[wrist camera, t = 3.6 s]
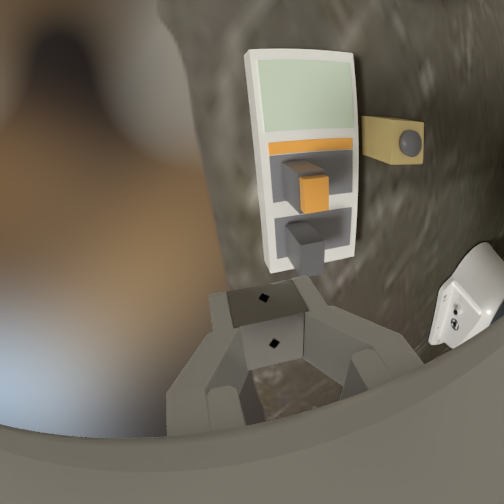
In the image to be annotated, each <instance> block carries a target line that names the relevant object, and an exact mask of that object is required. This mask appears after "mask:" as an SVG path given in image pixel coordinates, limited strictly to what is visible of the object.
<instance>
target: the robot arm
mask: <svg viewBox="0 0 504 504" xmlns="http://www.w3.org/2000/svg"><path fill="white" fill-rule="evenodd" d="M226 293H227V295H226ZM209 304H210V311H211V320H212V327H213V332H212V333H208V334H207V336H206V337H205V338H204V340H203V341H202V343H201V344H200V346H199V347H198V349H197V350H196V352H195V353H194V354H193V356H192V358H191V359H190V360H189V362H188V363H187V365H186V366H185V367H184V369H183V370H182V372H181V373H180V375H179V376H178V377H177V379H176V380H175V382H174V383H173V385H172V386H171V387H170V389H169V390H168V392H167V393H166V397H167V398H166V405H167V437H156V438H155V437H154V438H92V437H91V438H90V437H76V436H66V435H57V434H49V433H42V432H36V431H29V430H24V429H19V428H14V427H10V426H5V425H1V424H0V504H504V261H503V260H502V259H501V258H500V257H499V255H498V254H497V253H496V252H495V251H494V249H493V248H492V247H491V245H490V244H489V243H486V242H484V243H480V244H478V245H477V246H475V247H474V248H473V249H472V250H471V251H470V252H469V253H468V254H467V255H466V256H465V257H464V259H463V260H462V261H461V263H460V264H459V266H458V267H457V269H456V270H455V272H454V273H453V275H452V276H451V277H450V278H449V279H448V280H447V281H446V282H445V283H444V284H443V285H442V286H441V288H440V290H439V293H438V299H437V304H436V309H435V314H434V319H433V323H432V328H431V332H430V336H429V340H428V342H429V343H430V344H432V345H437V344H441V343H444V342H445V343H446V344H447V345H448V346H450V347H451V348H452V350H450V351H448V352H447V353H445V354H443V355H441V356H439V357H438V358H436V359H434V360H432V361H430V362H428V363H426V364H424V363H423V362H422V361H421V359H420V358H419V357H418V356H417V354H416V353H415V352H414V350H413V349H412V348H411V346H410V345H409V344H408V343H407V341H406V340H405V339H404V337H403V336H402V335H401V334H399V333H397V332H394V331H392V330H389V329H387V328H385V327H382V326H380V325H377V324H375V323H373V322H370V321H368V320H366V319H363V318H361V317H359V316H356V315H354V314H352V313H349V312H347V311H345V310H342V309H340V308H338V307H335V306H329V307H328V305H327V304H326V302H325V301H324V299H323V298H322V296H321V295H320V293H319V292H318V290H317V289H316V287H315V286H314V284H313V283H312V281H311V280H310V278H309V277H308V276H306V275H304V276H300V277H296V278H292V279H290V280H286V281H281V282H276V283H272V284H267V285H262V286H256V287H250V288H244V289H239V290H233V291H227V292H222V293H216V294H211V295H209ZM303 357H304V358H303ZM299 358H303V359H305V360H306V361H308V362H309V363H310V364H312V365H313V366H315V367H316V368H317V369H319V370H320V371H322V372H323V373H325V374H326V375H327V376H329V377H330V378H332V379H333V380H335V381H336V382H338V383H339V384H340V385H342V386H343V391H342V395H341V398H340V401H337V402H334V403H331V404H328V405H325V406H322V407H319V408H316V409H313V410H309V411H306V412H302V413H299V414H295V415H292V416H288V417H284V418H280V419H276V420H272V421H268V422H263V423H259V424H254V425H249V426H247V425H246V422H245V418H244V415H243V411H242V407H241V404H240V401H239V397H238V396H239V394H240V391H241V388H242V386H243V384H244V381H245V379H246V377H247V374H248V370H253V369H257V368H261V367H265V366H269V365H272V364H276V363H281V362H286V361H290V360H294V359H299Z"/></svg>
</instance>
